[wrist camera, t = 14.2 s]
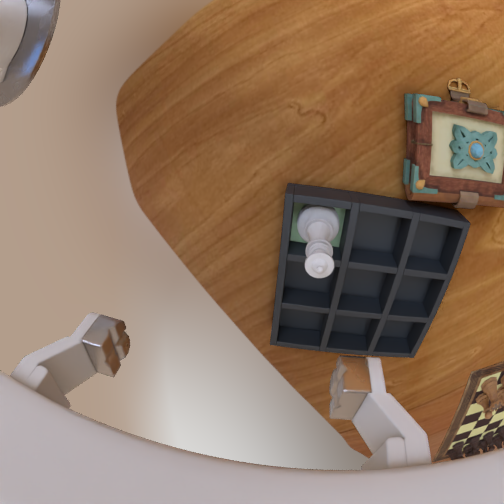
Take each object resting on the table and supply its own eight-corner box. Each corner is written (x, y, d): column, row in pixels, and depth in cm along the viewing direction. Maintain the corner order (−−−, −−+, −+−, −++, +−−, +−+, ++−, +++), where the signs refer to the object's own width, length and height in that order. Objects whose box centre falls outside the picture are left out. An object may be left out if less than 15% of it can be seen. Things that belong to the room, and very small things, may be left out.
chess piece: (300, 241, 33) (295, 297, 24) (294, 203, 31) (286, 249, 22) (340, 237, 32) (349, 292, 23) (336, 198, 30) (346, 243, 21)
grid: (273, 326, 41) (269, 345, 38) (287, 182, 31) (285, 193, 28) (408, 339, 38) (413, 357, 35) (457, 210, 28) (470, 223, 25)
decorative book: (519, 204, 26) (541, 221, 21) (399, 194, 29) (412, 211, 25) (529, 98, 19) (554, 103, 15) (400, 68, 23) (417, 63, 18)
